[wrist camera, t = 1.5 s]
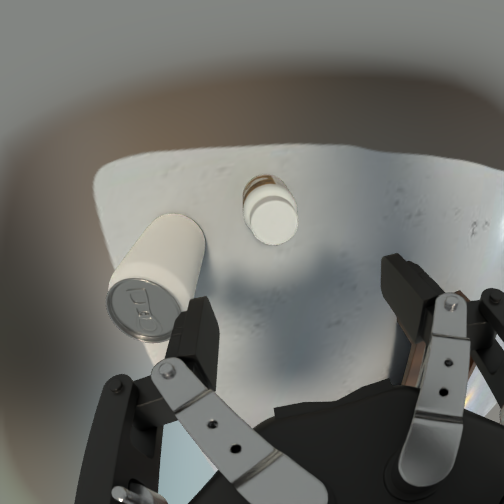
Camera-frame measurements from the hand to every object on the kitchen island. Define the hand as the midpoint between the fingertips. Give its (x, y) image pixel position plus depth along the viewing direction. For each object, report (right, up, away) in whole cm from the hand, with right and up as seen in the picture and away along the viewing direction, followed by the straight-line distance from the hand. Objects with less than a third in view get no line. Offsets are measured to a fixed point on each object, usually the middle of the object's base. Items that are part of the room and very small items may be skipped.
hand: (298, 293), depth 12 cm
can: (-10, +3, +16) cm, 19 cm away
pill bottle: (-1, +7, +15) cm, 17 cm away
